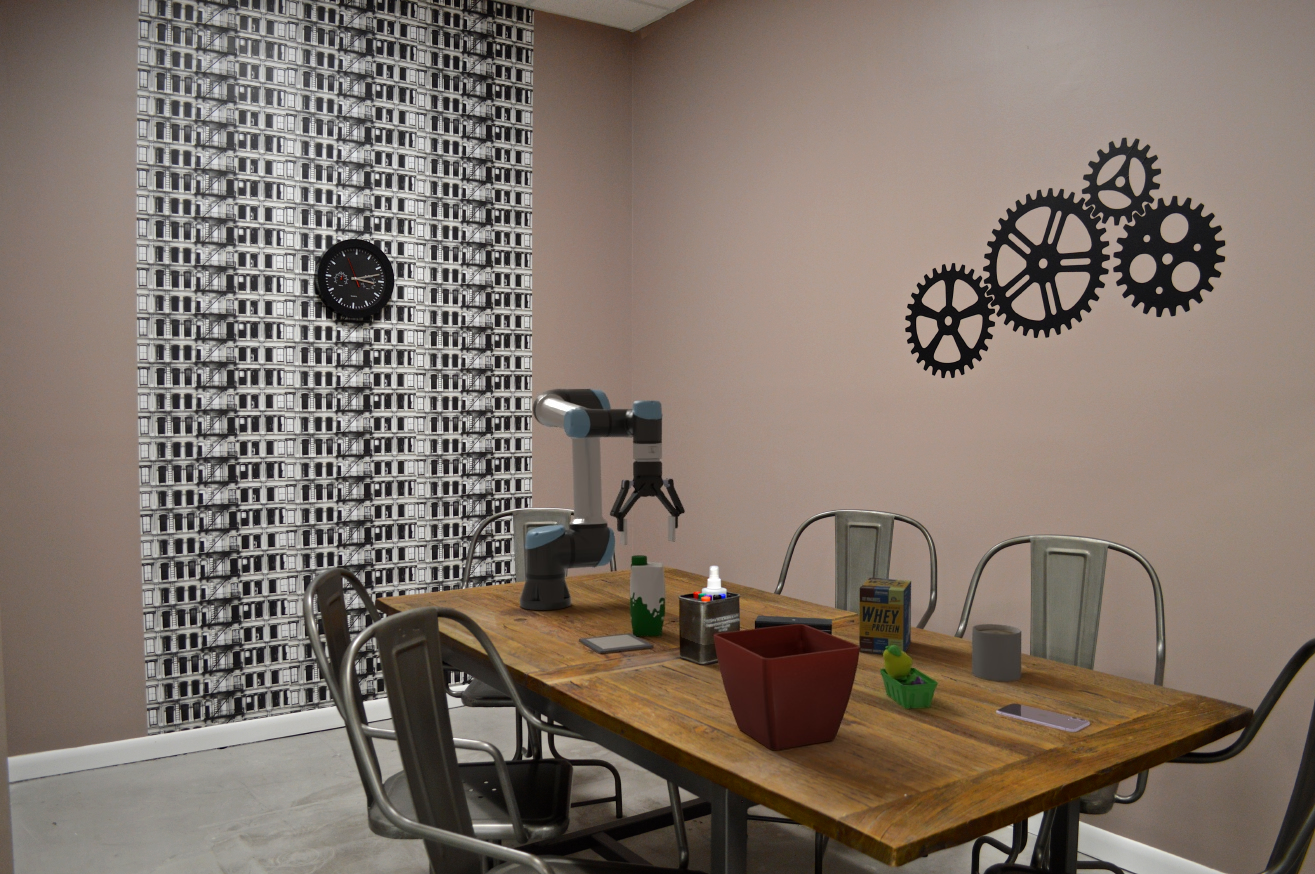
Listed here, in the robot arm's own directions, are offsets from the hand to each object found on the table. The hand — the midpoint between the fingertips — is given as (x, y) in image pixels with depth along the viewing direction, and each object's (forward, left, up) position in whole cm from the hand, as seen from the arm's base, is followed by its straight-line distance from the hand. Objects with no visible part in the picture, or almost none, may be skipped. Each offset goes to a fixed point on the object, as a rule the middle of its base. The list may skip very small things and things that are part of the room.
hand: (648, 543), depth 238 cm
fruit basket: (+74, +21, -24) cm, 80 cm away
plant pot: (+80, -11, -24) cm, 84 cm away
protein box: (+38, +46, -24) cm, 64 cm away
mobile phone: (+93, +37, -24) cm, 103 cm away
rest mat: (+7, -12, -24) cm, 27 cm away
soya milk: (0, 0, -24) cm, 24 cm away
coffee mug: (+68, +53, -24) cm, 89 cm away
